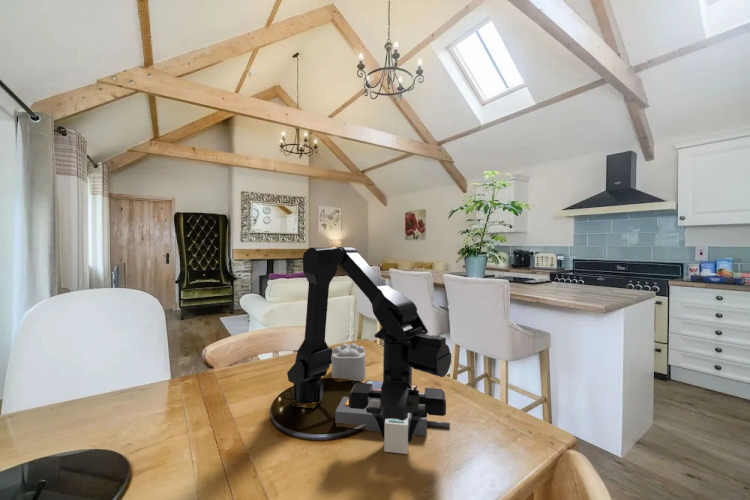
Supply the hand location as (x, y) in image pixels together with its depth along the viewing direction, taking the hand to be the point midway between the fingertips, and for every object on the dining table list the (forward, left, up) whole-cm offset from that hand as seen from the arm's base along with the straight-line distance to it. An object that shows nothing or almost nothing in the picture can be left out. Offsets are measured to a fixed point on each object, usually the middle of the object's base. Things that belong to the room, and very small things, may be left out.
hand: (396, 440), depth 64 cm
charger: (0, +1, -1) cm, 1 cm away
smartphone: (-4, +25, -2) cm, 25 cm away
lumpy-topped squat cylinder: (-18, +34, -2) cm, 39 cm away
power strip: (-2, +8, -1) cm, 8 cm away
